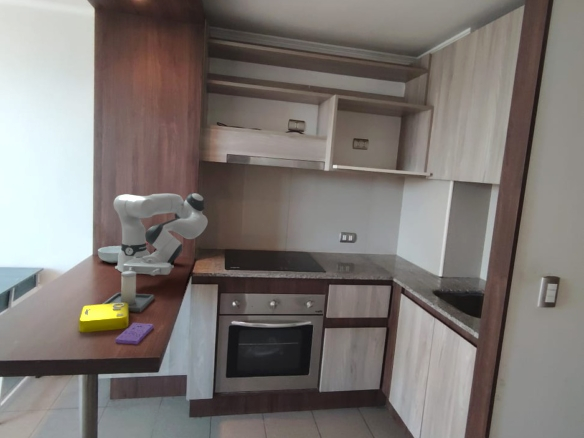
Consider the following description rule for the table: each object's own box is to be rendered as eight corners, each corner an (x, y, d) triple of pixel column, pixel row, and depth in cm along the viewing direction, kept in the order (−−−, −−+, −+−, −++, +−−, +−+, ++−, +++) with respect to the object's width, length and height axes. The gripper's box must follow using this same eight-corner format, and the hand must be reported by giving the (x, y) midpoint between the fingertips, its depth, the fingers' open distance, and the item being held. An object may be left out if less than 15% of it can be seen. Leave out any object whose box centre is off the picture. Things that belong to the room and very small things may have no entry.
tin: (124, 299, 150) (124, 270, 148) (137, 300, 150) (138, 271, 148) (118, 304, 144) (119, 274, 143) (132, 305, 144) (133, 275, 143)
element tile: (82, 316, 134) (82, 303, 133) (128, 312, 140) (128, 300, 140) (78, 334, 120) (77, 320, 120) (128, 329, 127) (128, 315, 126)
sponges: (153, 329, 128) (153, 323, 128) (136, 346, 116) (137, 340, 115) (133, 327, 128) (133, 322, 128) (114, 344, 116) (114, 338, 116)
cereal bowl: (98, 258, 211) (98, 246, 210) (129, 257, 219) (129, 245, 218) (97, 266, 196) (97, 253, 195) (131, 264, 204) (132, 251, 203)
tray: (117, 296, 154) (117, 292, 154) (153, 298, 155) (153, 294, 155) (99, 310, 140) (99, 305, 139) (139, 312, 140) (140, 308, 140)
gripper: (175, 272, 172) (165, 281, 159) (130, 270, 172) (117, 279, 158) (175, 258, 172) (165, 267, 158) (130, 256, 171) (117, 264, 157)
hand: (140, 273), depth 158 cm, fingers open, 8 cm apart
